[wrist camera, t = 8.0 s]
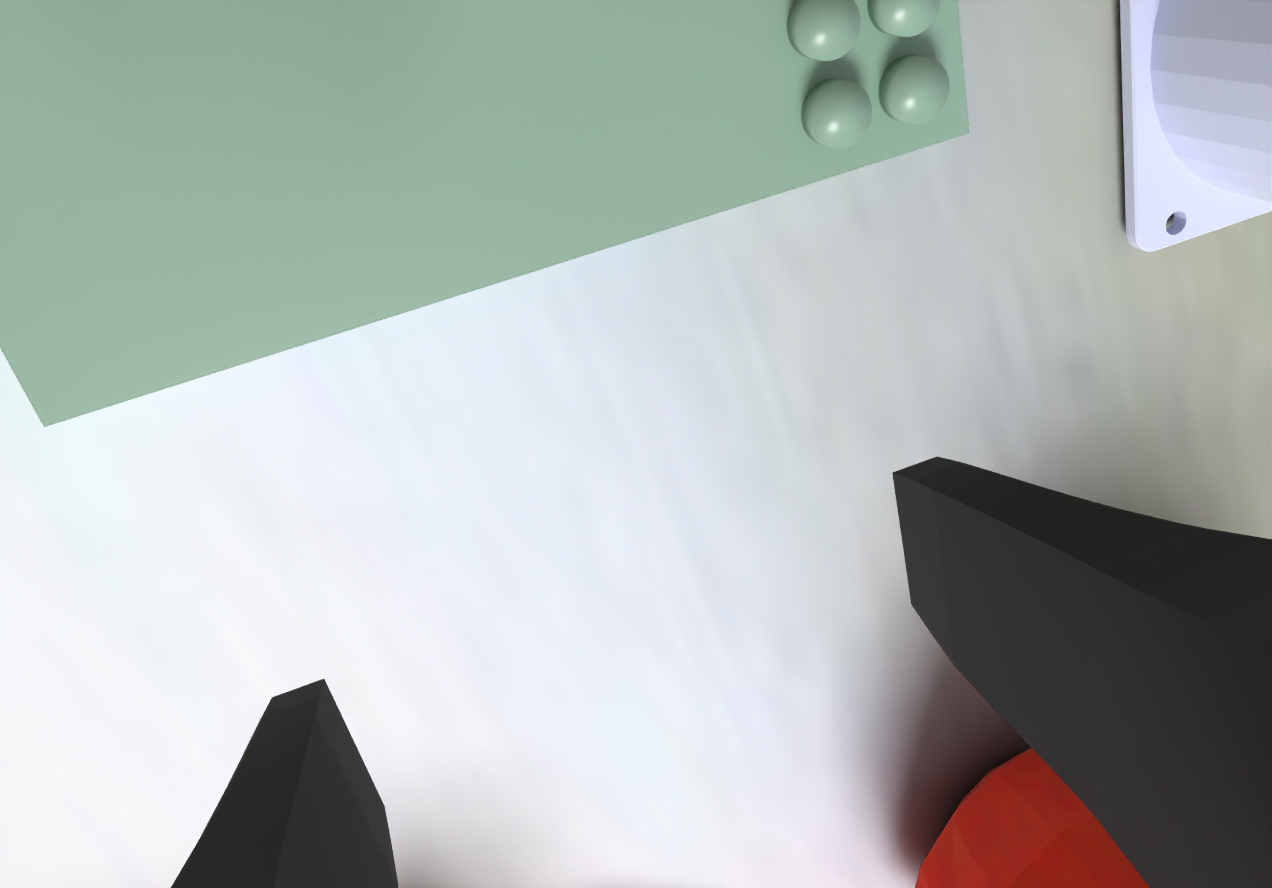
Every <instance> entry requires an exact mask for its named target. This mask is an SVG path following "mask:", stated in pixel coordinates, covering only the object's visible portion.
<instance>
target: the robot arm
mask: <svg viewBox="0 0 1272 888" xmlns="http://www.w3.org/2000/svg"><path fill="white" fill-rule="evenodd" d="M1120 20H1121V58H1122V96H1123V134H1124V171H1125V209H1126V235H1127V239H1128V242H1129V243H1130V244H1131V245H1132V246H1133V247H1136V248H1139V249H1141V250H1144V251H1147V252H1149V251H1156V250H1159V249H1162V248H1165V247H1168V246H1170V245H1173V244H1176V243H1179V242H1182V241H1185V240H1188V239H1191V238H1194V237H1197V236H1200V235H1202V234H1205V233H1208V232H1211V231H1214V230H1217V229H1220V228H1223V227H1226V226H1229V225H1232V224H1234V223H1237V222H1240V221H1243V220H1246V219H1249V218H1252V217H1255V216H1258V215H1261V214H1264V213H1266V212H1269V211H1272V0H1120ZM1171 214H1174V218H1173V222H1172V224H1171V225H1170V227H1169V228H1167V229H1166V222H1167V220H1168V218H1169V217H1170V215H1171ZM893 480H894V487H895V494H896V501H897V508H898V514H899V521H900V528H901V535H902V542H903V549H904V556H905V563H906V570H907V577H908V583H909V590H910V597H911V604H912V606H913V608H914V609H915V610H916V612H917V613H918V615H919V616H920V618H921V619H922V621H923V622H924V624H925V625H926V627H927V628H928V629H929V631H930V632H931V634H932V635H933V637H934V638H935V640H936V641H937V642H938V644H939V645H940V646H941V648H942V649H943V651H944V652H945V653H946V655H947V656H948V657H949V659H950V660H951V661H952V663H953V664H954V666H955V667H956V668H957V669H958V670H959V671H960V672H961V673H962V674H963V676H964V677H965V678H966V679H967V680H968V681H969V682H970V683H971V684H972V685H973V686H974V687H975V689H976V690H977V691H978V692H979V693H980V694H981V695H982V696H983V697H984V698H985V699H986V700H987V701H988V702H989V704H990V705H991V706H992V707H993V708H994V709H995V710H996V711H997V712H998V713H999V714H1000V715H1001V716H1002V717H1003V718H1004V720H1005V721H1006V722H1007V723H1008V724H1009V725H1010V726H1011V727H1012V728H1013V729H1014V730H1015V731H1016V732H1017V733H1018V734H1019V735H1020V736H1021V737H1022V738H1023V740H1024V741H1025V742H1026V743H1027V744H1028V745H1029V746H1030V747H1031V748H1032V749H1033V750H1034V751H1035V752H1036V753H1037V754H1038V755H1039V756H1040V757H1041V759H1042V760H1043V761H1044V762H1045V763H1046V764H1047V765H1048V766H1049V767H1050V768H1051V769H1052V770H1053V771H1054V772H1055V773H1056V774H1057V775H1058V776H1059V778H1060V779H1061V780H1062V781H1063V782H1064V783H1065V784H1066V785H1067V786H1068V787H1069V788H1070V789H1071V790H1072V791H1073V792H1074V794H1075V795H1076V796H1077V797H1078V798H1079V799H1080V800H1081V802H1082V803H1083V804H1084V805H1085V806H1086V807H1087V808H1088V810H1089V811H1090V812H1091V813H1092V814H1093V815H1094V817H1095V818H1096V819H1097V820H1098V821H1099V823H1100V824H1101V825H1102V826H1103V828H1104V829H1105V830H1106V832H1107V833H1108V834H1109V836H1110V837H1111V838H1112V839H1113V841H1114V842H1115V843H1116V845H1117V846H1118V847H1119V849H1120V850H1121V851H1122V852H1123V854H1124V855H1125V856H1126V858H1127V859H1128V860H1129V862H1130V863H1131V864H1132V866H1133V867H1134V868H1135V869H1136V871H1137V872H1138V873H1139V875H1140V876H1141V877H1142V879H1143V880H1144V881H1145V883H1146V884H1147V885H1148V886H1149V888H1272V539H1266V538H1259V537H1253V536H1247V535H1241V534H1235V533H1229V532H1223V531H1217V530H1211V529H1206V528H1201V527H1196V526H1191V525H1186V524H1181V523H1176V522H1171V521H1167V520H1163V519H1159V518H1155V517H1150V516H1146V515H1142V514H1138V513H1134V512H1129V511H1125V510H1121V509H1118V508H1114V507H1110V506H1106V505H1103V504H1099V503H1095V502H1092V501H1088V500H1084V499H1081V498H1077V497H1074V496H1070V495H1067V494H1064V493H1060V492H1057V491H1053V490H1050V489H1047V488H1044V487H1040V486H1037V485H1034V484H1030V483H1027V482H1024V481H1021V480H1017V479H1014V478H1011V477H1008V476H1005V475H1001V474H998V473H995V472H992V471H988V470H985V469H982V468H978V467H975V466H972V465H968V464H965V463H961V462H957V461H953V460H949V459H945V458H941V457H935V458H932V459H929V460H926V461H924V462H921V463H918V464H915V465H913V466H910V467H907V468H904V469H901V470H899V471H896V472H893ZM171 888H398V881H397V875H396V869H395V863H394V856H393V850H392V845H391V839H390V834H389V828H388V823H387V817H386V812H385V806H384V804H383V802H382V800H381V798H380V796H379V794H378V791H377V789H376V787H375V785H374V783H373V781H372V779H371V777H370V775H369V772H368V770H367V768H366V766H365V764H364V762H363V760H362V758H361V756H360V753H359V751H358V749H357V747H356V745H355V743H354V741H353V739H352V737H351V734H350V732H349V730H348V728H347V726H346V724H345V722H344V720H343V718H342V715H341V713H340V711H339V709H338V707H337V705H336V703H335V701H334V699H333V696H332V694H331V692H330V690H329V688H328V686H327V684H326V682H325V680H324V679H322V680H319V681H316V682H314V683H311V684H308V685H305V686H303V687H300V688H297V689H294V690H292V691H289V692H286V693H283V694H280V695H278V696H275V697H272V699H271V701H270V702H269V704H268V706H267V708H266V710H265V712H264V714H263V716H262V718H261V720H260V721H259V723H258V725H257V727H256V729H255V732H254V734H253V736H252V738H251V740H250V742H249V744H248V746H247V748H246V750H245V752H244V754H243V756H242V758H241V760H240V762H239V764H238V766H237V768H236V770H235V772H234V774H233V776H232V778H231V780H230V782H229V784H228V786H227V788H226V790H225V792H224V794H223V796H222V797H221V799H220V801H219V803H218V805H217V807H216V809H215V811H214V813H213V815H212V816H211V818H210V820H209V822H208V824H207V826H206V828H205V830H204V832H203V833H202V835H201V837H200V839H199V841H198V843H197V844H196V846H195V848H194V850H193V851H192V853H191V855H190V856H189V858H188V860H187V861H186V863H185V865H184V866H183V868H182V870H181V871H180V873H179V875H178V876H177V878H176V880H175V882H174V883H173V885H172V887H171Z"/></svg>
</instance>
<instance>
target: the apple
mask: <svg viewBox="0 0 1272 888" xmlns="http://www.w3.org/2000/svg"><path fill="white" fill-rule="evenodd" d="M915 888H1149V886H1148V885H1147V884H1146V883H1145V881H1144V880H1143V879H1142V877H1141V876H1140V875H1139V873H1138V872H1137V871H1136V869H1135V868H1134V867H1133V866H1132V864H1131V863H1130V862H1129V860H1128V859H1127V858H1126V856H1125V855H1124V854H1123V852H1122V851H1121V850H1120V849H1119V847H1118V846H1117V845H1116V843H1115V842H1114V841H1113V839H1112V838H1111V837H1110V836H1109V834H1108V833H1107V832H1106V830H1105V829H1104V828H1103V826H1102V825H1101V824H1100V823H1099V821H1098V820H1097V819H1096V818H1095V817H1094V815H1093V814H1092V813H1091V812H1090V811H1089V810H1088V808H1087V807H1086V806H1085V805H1084V804H1083V803H1082V802H1081V800H1080V799H1079V798H1078V797H1077V796H1076V795H1075V794H1074V792H1073V791H1072V790H1071V789H1070V788H1069V787H1068V786H1067V785H1066V784H1065V783H1064V782H1063V781H1062V780H1061V779H1060V778H1059V776H1058V775H1057V774H1056V773H1055V772H1054V771H1053V770H1052V769H1051V768H1050V767H1049V766H1048V765H1047V764H1046V763H1045V762H1044V761H1043V760H1042V759H1041V757H1040V756H1039V755H1038V754H1037V753H1036V752H1035V751H1034V750H1033V749H1032V748H1030V749H1028V750H1026V751H1024V752H1022V753H1020V754H1018V755H1016V756H1015V757H1013V758H1011V759H1010V760H1008V761H1006V762H1005V763H1003V764H1001V765H1000V766H998V767H996V768H995V769H993V770H991V771H990V772H988V773H987V774H986V775H985V776H984V777H983V778H982V779H981V780H980V781H979V782H978V783H977V784H976V785H975V786H974V787H973V788H972V789H971V790H970V792H969V793H968V794H967V795H966V796H965V797H964V798H963V799H962V801H961V802H960V804H959V806H958V807H957V809H956V810H955V812H954V814H953V815H952V817H951V818H950V820H949V822H948V823H947V825H946V826H945V828H944V830H943V831H942V833H941V834H940V836H939V838H938V839H937V841H936V842H935V844H934V846H933V847H932V849H931V850H930V852H929V854H928V855H927V857H926V858H925V860H924V862H923V863H922V865H921V866H920V870H919V874H918V878H917V882H916V886H915Z"/></svg>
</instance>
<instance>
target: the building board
mask: <svg viewBox="0 0 1272 888" xmlns="http://www.w3.org/2000/svg"><path fill="white" fill-rule="evenodd" d="M968 133H969V122H968V111H967V100H966V90H965V79H964V68H963V57H962V46H961V35H960V24H959V13H958V2H957V0H0V348H1V350H2V352H3V353H4V355H5V357H6V359H7V361H8V363H9V364H10V366H11V368H12V370H13V372H14V373H15V375H16V377H17V379H18V381H19V382H20V384H21V386H22V388H23V390H24V392H25V393H26V395H27V397H28V399H29V401H30V402H31V404H32V406H33V408H34V410H35V412H36V413H37V415H38V417H39V419H40V421H41V422H42V424H43V426H44V427H46V426H49V425H52V424H55V423H58V422H61V421H65V420H68V419H71V418H74V417H77V416H80V415H83V414H87V413H90V412H93V411H96V410H99V409H102V408H105V407H109V406H112V405H115V404H118V403H121V402H124V401H127V400H131V399H134V398H137V397H140V396H143V395H146V394H150V393H153V392H156V391H159V390H162V389H165V388H168V387H172V386H175V385H178V384H181V383H184V382H187V381H190V380H194V379H197V378H200V377H203V376H206V375H209V374H212V373H216V372H219V371H222V370H225V369H228V368H231V367H235V366H238V365H241V364H244V363H247V362H250V361H253V360H257V359H260V358H263V357H266V356H269V355H272V354H275V353H279V352H282V351H285V350H288V349H291V348H294V347H297V346H301V345H304V344H307V343H310V342H313V341H316V340H320V339H323V338H326V337H329V336H332V335H335V334H338V333H342V332H345V331H348V330H351V329H354V328H357V327H360V326H364V325H367V324H370V323H373V322H376V321H379V320H382V319H386V318H389V317H392V316H395V315H398V314H401V313H405V312H408V311H411V310H414V309H417V308H420V307H423V306H427V305H430V304H433V303H436V302H439V301H442V300H445V299H449V298H452V297H455V296H458V295H461V294H464V293H467V292H471V291H474V290H477V289H480V288H483V287H486V286H490V285H493V284H496V283H499V282H502V281H505V280H508V279H512V278H515V277H518V276H521V275H524V274H527V273H530V272H534V271H537V270H540V269H543V268H546V267H549V266H552V265H556V264H559V263H562V262H565V261H568V260H571V259H575V258H578V257H581V256H584V255H587V254H590V253H593V252H597V251H600V250H603V249H606V248H609V247H612V246H615V245H619V244H622V243H625V242H628V241H631V240H634V239H637V238H641V237H644V236H647V235H650V234H653V233H656V232H660V231H663V230H666V229H669V228H672V227H675V226H678V225H682V224H685V223H688V222H691V221H694V220H697V219H700V218H704V217H707V216H710V215H713V214H716V213H719V212H722V211H726V210H729V209H732V208H735V207H738V206H741V205H745V204H748V203H751V202H754V201H757V200H760V199H763V198H767V197H770V196H773V195H776V194H779V193H782V192H785V191H789V190H792V189H795V188H798V187H801V186H804V185H807V184H811V183H814V182H817V181H820V180H823V179H826V178H830V177H833V176H836V175H839V174H842V173H845V172H848V171H852V170H855V169H858V168H861V167H864V166H867V165H870V164H874V163H877V162H880V161H883V160H886V159H889V158H892V157H896V156H899V155H902V154H905V153H908V152H911V151H915V150H918V149H921V148H924V147H927V146H930V145H933V144H937V143H940V142H943V141H946V140H949V139H952V138H955V137H959V136H962V135H965V134H968Z"/></svg>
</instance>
